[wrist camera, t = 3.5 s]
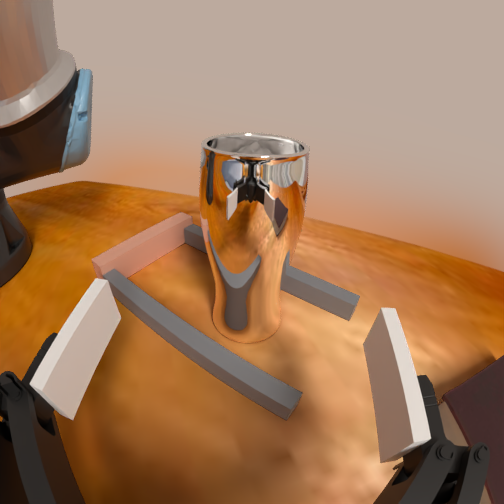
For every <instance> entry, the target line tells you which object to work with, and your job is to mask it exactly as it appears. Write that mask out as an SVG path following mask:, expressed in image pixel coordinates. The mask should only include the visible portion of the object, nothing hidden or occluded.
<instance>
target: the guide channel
mask: <svg viewBox="0 0 504 504" xmlns="http://www.w3.org/2000/svg"><path fill="white" fill-rule="evenodd" d="M184 243H186V244H188V245H191V246H193V247H195V248H197V249H199V250H201V251H203V252H205V253H207V250H206V246H205V242H204V237H203V232H202V228H201V227H199V226H197V225H194V224H193V223H192V216H190V215H187V214H185V213H182V212H180V213H178V214H176V215H174V216H172V217H170V218H168V219H166V220H164V221H162V222H160V223H158V224H156V225H154V226H152V227H150V228H148V229H146V230H144V231H143V232H141V233H139V234H137V235H135V236H133V237H131V238H129V239H127V240H126V241H124V242H122V243H120V244H118V245H116V246H115V247H113V248H111V249H109V250H107V251H106V252H104V253H102V254H100V255H98V256H97V257H95V258H93V259H92V263H93V266H94V269H95V272H96V275H97V278H98V279H104V280H108V282H109V285H110V288H111V291H112V294H113V296H114V297H115V298H117V299H118V300H119V301H120V302H121V303H122V304H123V305H124V306H125V307H127V308H128V309H129V310H130V311H131V312H132V313H133V314H135V315H136V316H137V317H138V318H139V319H140V320H142V321H143V322H144V323H145V324H146V325H148V326H149V327H150V328H151V329H152V330H154V331H155V332H156V333H157V334H159V335H160V336H161V337H162V338H164V339H165V340H166V341H167V342H169V343H170V344H171V345H172V346H174V347H175V348H176V349H178V350H179V351H180V352H182V353H183V354H184V355H186V356H187V357H188V358H190V359H191V360H192V361H194V362H195V363H197V364H198V365H199V366H201V367H202V368H204V369H205V370H206V371H208V372H209V373H211V374H212V375H214V376H215V377H217V378H218V379H219V380H221V381H222V382H224V383H225V384H227V385H228V386H230V387H232V388H233V389H235V390H236V391H238V392H239V393H241V394H242V395H244V396H246V397H247V398H249V399H250V400H252V401H254V402H255V403H257V404H259V405H260V406H262V407H264V408H265V409H267V410H269V411H271V412H272V413H274V414H276V415H278V416H279V417H281V418H283V419H285V420H287V419H288V418H289V416H290V415H291V413H292V412H293V411H294V409H295V408H296V406H297V405H298V403H299V400H300V398H301V396H302V392H300V391H298V390H296V389H295V388H293V387H291V386H289V385H287V384H285V383H284V382H282V381H280V380H278V379H276V378H275V377H273V376H271V375H269V374H268V373H266V372H264V371H262V370H261V369H259V368H257V367H255V366H254V365H252V364H250V363H249V362H247V361H245V360H244V359H242V358H240V357H239V356H237V355H236V354H234V353H232V352H231V351H229V350H228V349H226V348H224V347H223V346H221V345H220V344H218V343H217V342H215V341H213V340H212V339H210V338H209V337H207V336H206V335H204V334H203V333H201V332H200V331H198V330H197V329H195V328H194V327H192V326H191V325H189V324H188V323H187V322H185V321H184V320H182V319H181V318H179V317H178V316H177V315H175V314H174V313H172V312H171V311H170V310H168V309H167V308H165V307H164V306H163V305H161V304H160V303H159V302H157V301H156V300H154V299H153V298H152V297H150V296H149V295H148V294H146V293H145V292H144V291H143V290H141V289H140V288H139V287H137V286H136V285H135V284H133V283H132V282H131V281H130V280H128V279H127V278H128V277H130V276H131V275H133V274H134V273H136V272H138V271H139V270H141V269H142V268H144V267H146V266H147V265H149V264H151V263H152V262H154V261H155V260H157V259H159V258H160V257H162V256H164V255H165V254H167V253H169V252H170V251H172V250H174V249H175V248H177V247H179V246H180V245H182V244H184ZM281 290H283V291H286V292H288V293H290V294H292V295H294V296H296V297H298V298H300V299H303V300H305V301H307V302H309V303H311V304H313V305H315V306H318V307H320V308H322V309H324V310H326V311H328V312H331V313H333V314H335V315H337V316H339V317H342V318H344V319H346V320H348V321H349V320H350V318H351V316H352V315H353V313H354V311H355V308H356V306H357V303H358V300H359V298H360V296H359V295H356V294H354V293H352V292H349V291H347V290H345V289H343V288H340V287H338V286H336V285H333V284H331V283H329V282H326V281H324V280H322V279H319V278H317V277H315V276H313V275H310V274H308V273H306V272H303V271H301V270H299V269H296V268H294V267H292V266H289V268H288V271H287V273H286V276H285V279H284V282H283V284H282V288H281Z"/></svg>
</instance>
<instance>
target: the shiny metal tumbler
mask: <svg viewBox="0 0 504 504" xmlns="http://www.w3.org/2000/svg"><path fill="white" fill-rule="evenodd" d="M201 145H202V152H201V166H200V185H199V193H200V194H199V205H200V218H201V227H202V232H203V237H204V242H205V246H206V250H207V254H208V258H209V262H210V265H211V269H212V273H213V277H214V281H215V288H216V296H215V303H214V308H213V314H212V318H213V322H214V325H215V327H216V328H217V330H218V331H219V332H220V333H221V334H222V335H224V336H225V337H227V338H229V339H231V340H233V341H237V342H242V343H254V342H259V341H262V340H265V339H267V338H269V337H270V336H272V335H273V334H274V333H275V332H276V331H277V329H278V328H279V326H280V323H281V305H280V293H281V288H282V284H283V282H284V279H285V276H286V273H287V271H288V268H289V266H290V263H291V260H292V258H293V255H294V252H295V249H296V247H297V243H298V240H299V237H300V233H301V230H302V225H303V219H304V214H305V207H306V197H307V185H308V160H309V159H308V158H309V147H308V146H307V145H306V144H305V143H303V142H301V141H298V140H295V139H292V138H288V137H283V136H278V135H271V134H262V133H232V134H222V135H217V136H212V137H209V138H207V139H205V140H204V141H202V143H201Z"/></svg>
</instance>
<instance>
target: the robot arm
mask: <svg viewBox="0 0 504 504" xmlns="http://www.w3.org/2000/svg"><path fill="white" fill-rule="evenodd" d="M92 80H93V76H92V71H91V70H89V69H86V70H85V69H80V70H78V71H76V64H75V60H74V57H73V56H72V54H70V53H69V52H67V51H64V50H60V49H58V45H57V38H56V30H55V21H54V12H53V0H0V286H2V285H3V284H5V283H6V282H7V281H8V280H10V279H11V278H12V277H13V276H14V275H15V274H16V273H17V272H18V271H19V270H20V269H21V268H22V266H23V265H24V264H25V262H26V261H27V259H28V257H29V255H30V253H31V249H32V244H31V241H30V238H29V235H28V232H27V230H26V229H25V227H24V226H23V224H22V223H21V222H20V220H19V219H18V217H17V216H16V215H15V213H14V212H13V210H12V209H11V207H10V206H9V204H8V202H7V200H6V197H5V194H4V189H3V188H5V187H8V186H11V185H14V184H18V183H21V182H24V181H28V180H31V179H35V178H38V177H42V176H46V175H50V174H54V173H58V172H59V173H60V172H63V171H64V170H65V169H68V168H71V167H75V166H78V165H81V164H83V163H84V162H85V161H86V159H87V158H88V156H89V153H90V144H91V143H90V142H91V111H92V84H93V81H92ZM120 320H121V316H120V313H119V311H118V308H117V305H116V302H115V300H114V297H113V294H112V291H111V288H110V285H109V282H108V280H104V279H98V278H96V279H95V280H94V281H93V283H92V284H91V286H90V287H89V288H88V290H87V291H86V293H85V294H84V296H83V297H82V298H81V300H80V301H79V303H78V304H77V306H76V307H75V309H74V310H73V312H72V313H71V315H70V316H69V318H68V319H67V321H66V322H65V324H64V325H63V327H62V329H61V330H60V332H59V333H58V334H57V333H52V334H51V335H50V336H49V337H48V338H47V339H46V340H45V342H44V343H43V345H42V347H41V349H40V350H39V351H38V353H37V356H36V357H35V358H34V360H33V362H32V363H31V365H30V367H29V369H28V371H27V372H26V374H25V376H24V378H23V379H22V381H20V380H19V379H18V377H17V376H16V375H15V374H14V373H13V372H11V371H5V372H4V373H2V374H1V375H0V416H1V417H3V420H2V422H1V421H0V504H85V501H84V499H83V497H82V495H81V492H80V490H79V488H78V485H77V483H76V480H75V478H74V475H73V473H72V470H71V467H70V464H69V462H68V459H67V456H66V453H65V450H64V447H63V443H62V440H61V437H60V433H59V429H58V426H57V422H56V418H55V415H54V413H53V411H54V409H55V410H56V411H57V412H58V413H59V414H61V415H63V416H65V417H67V418H69V419H71V420H73V419H74V417H75V414H76V412H77V409H78V407H79V405H80V402H81V400H82V398H83V395H84V393H85V391H86V389H87V387H88V384H89V382H90V380H91V378H92V376H93V374H94V371H95V369H96V367H97V365H98V363H99V361H100V359H101V357H102V355H103V353H104V351H105V349H106V347H107V345H108V343H109V341H110V339H111V337H112V335H113V333H114V331H115V329H116V327H117V325H118V324H119V322H120ZM363 346H364V351H365V356H366V361H367V367H368V372H369V378H370V384H371V390H372V396H373V403H374V410H375V417H376V425H377V433H378V442H379V452H380V463H384V462H390V461H395V460H398V459H399V458H401V457H403V462H401V463H399V464H398V465H396V466H395V467H394V468H393V470H395V469H397V468H398V470H397V471H396V473H395V474H394V476H393V477H392V479H391V480H390V481H389V483H388V484H387V486H386V487H385V489H384V490H383V491H382V493H381V494H380V495H379V497H378V498H377V499H376V501H375V502H374V503H373V504H480V500H481V497H482V493H483V489H484V485H485V480H486V475H487V470H488V465H489V459H490V451H489V447H488V446H487V445H486V444H485V443H483V442H478V443H476V444H474V445H473V446H471V447H469V446H457V445H454V444H453V443H452V442H451V441H450V440H448V439H447V438H446V436H445V433H444V429H443V424H442V420H441V416H440V412H439V407H438V405H437V400H436V397H435V392H434V388H433V385H432V383H431V382H430V380H429V379H428V377H427V376H426V375H420V376H417V375H416V371H415V368H414V364H413V361H412V358H411V354H410V351H409V348H408V345H407V341H406V338H405V335H404V332H403V329H402V326H401V323H400V321H399V318H398V315H397V312H396V309H395V308H381V309H380V311H379V313H378V316H377V318H376V320H375V322H374V324H373V326H372V328H371V330H370V332H369V334H368V336H367V338H366V340H365V342H364V344H363Z"/></svg>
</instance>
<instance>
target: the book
mask: <svg viewBox="0 0 504 504" xmlns="http://www.w3.org/2000/svg"><path fill="white" fill-rule="evenodd" d="M442 399H443V400H444V402H442V403H440V404H439V405H438V407H439V412H440V416H441V420H442V424H443V429H444V433H445V436H446V438H447V439H448V440H450V441H451V442H452V443H453V444H454V445H457V446H469V447H471V446H473V445H474V444H476V443H478V442H483V443H485V444H486V445H487V446H488V447H489V451H490V459H489V465H488V470H487V475H486V480H485V485H484V489H483V493H482V497H481V500H480V504H504V355H503V356H502V357H500V358H499V359H498V360H496V361H495V362H493V363H492V364H490V365H489V366H488V367H486V368H485V369H484V370H482V371H480V372H479V373H477V374H476V375H475V376H473V377H471V378H470V379H468V380H467V381H465V382H464V383H462V384H461V385H459V386H458V387H456V388H454V389H452V390H450V391H449V392H447V393H445V394H444V395H443V397H442Z"/></svg>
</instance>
